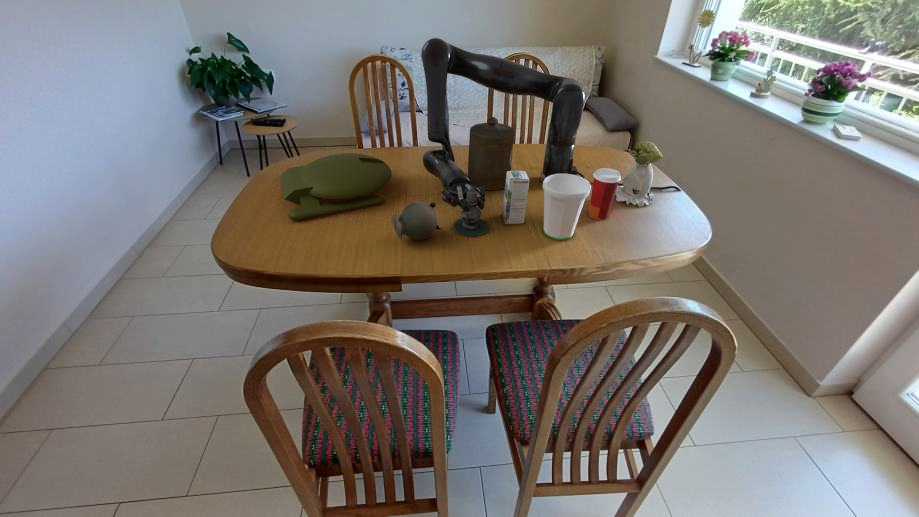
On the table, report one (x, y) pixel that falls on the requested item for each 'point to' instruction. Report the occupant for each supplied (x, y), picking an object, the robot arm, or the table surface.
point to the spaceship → (334, 184)
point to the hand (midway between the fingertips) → (475, 208)
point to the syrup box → (515, 197)
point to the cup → (563, 204)
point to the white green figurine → (639, 175)
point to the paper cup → (603, 192)
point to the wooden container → (490, 154)
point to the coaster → (471, 232)
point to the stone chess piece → (471, 211)
